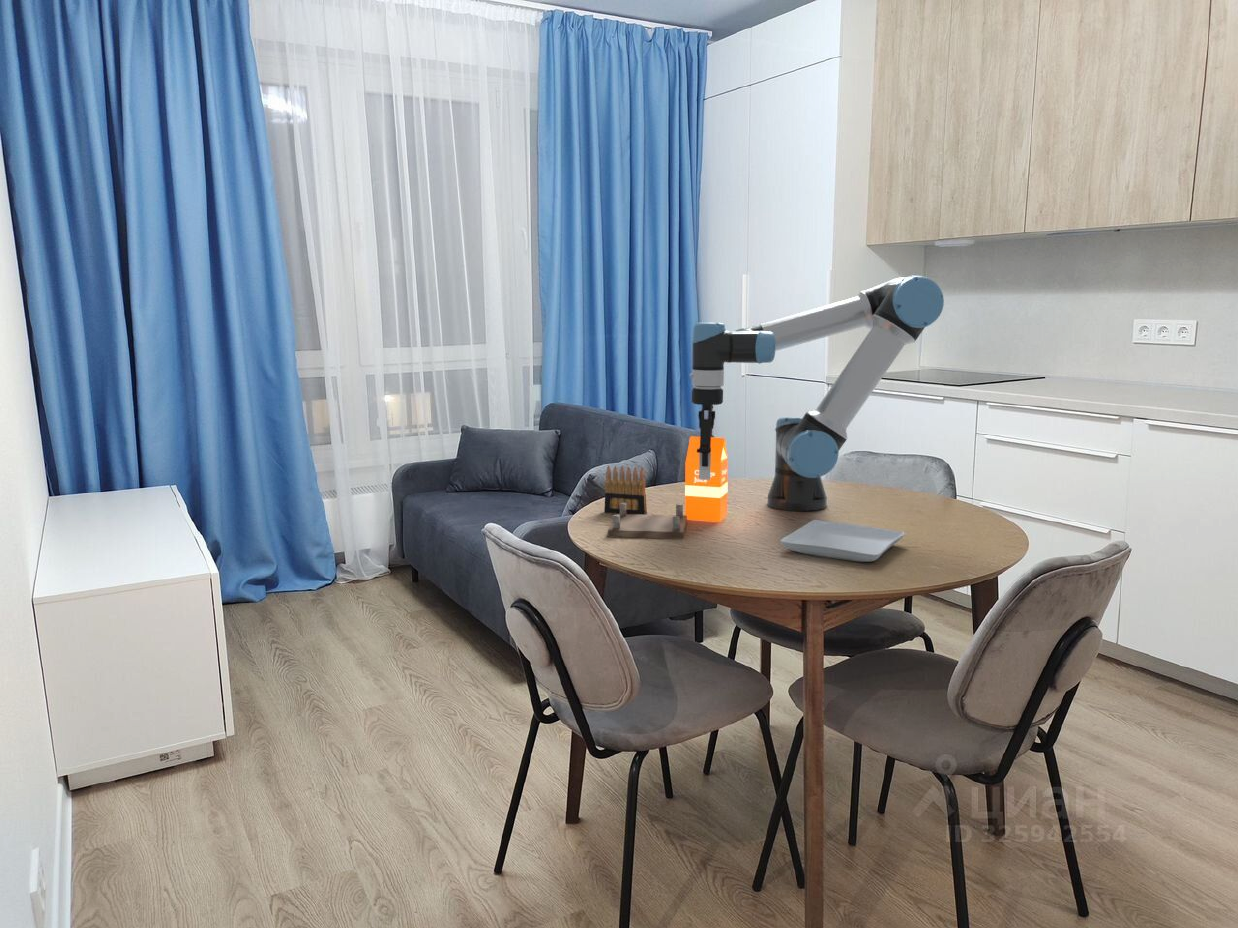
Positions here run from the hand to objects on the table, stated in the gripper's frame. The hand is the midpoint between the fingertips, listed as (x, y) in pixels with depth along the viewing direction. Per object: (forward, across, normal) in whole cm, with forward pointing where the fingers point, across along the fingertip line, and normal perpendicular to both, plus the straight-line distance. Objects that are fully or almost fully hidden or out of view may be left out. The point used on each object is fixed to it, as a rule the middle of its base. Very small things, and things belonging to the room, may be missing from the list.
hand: (705, 474), depth 222 cm
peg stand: (+11, +13, -13) cm, 21 cm away
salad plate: (+11, +26, +30) cm, 41 cm away
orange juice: (+11, 0, 0) cm, 11 cm away
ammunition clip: (+11, -3, -20) cm, 23 cm away
